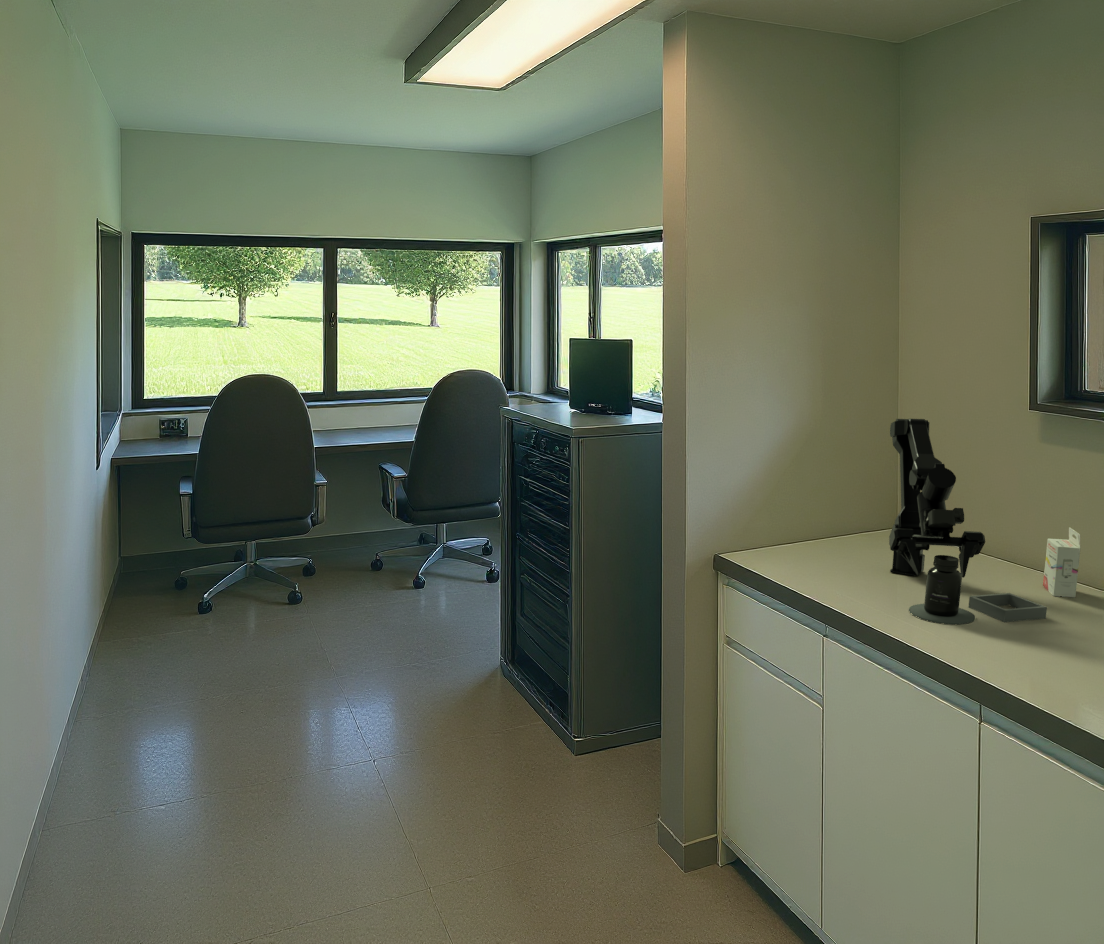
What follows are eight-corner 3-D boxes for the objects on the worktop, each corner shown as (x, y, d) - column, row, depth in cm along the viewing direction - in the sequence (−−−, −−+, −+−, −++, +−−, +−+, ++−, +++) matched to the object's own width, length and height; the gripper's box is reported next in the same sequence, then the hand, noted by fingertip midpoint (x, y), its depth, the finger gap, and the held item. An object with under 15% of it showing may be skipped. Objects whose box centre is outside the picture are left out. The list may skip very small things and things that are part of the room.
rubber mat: (901, 616, 199) (901, 614, 199) (917, 601, 210) (917, 600, 210) (967, 628, 192) (968, 626, 192) (980, 612, 203) (980, 611, 202)
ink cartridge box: (1041, 586, 224) (1047, 525, 222) (1064, 587, 223) (1070, 526, 221) (1052, 596, 216) (1059, 533, 213) (1076, 598, 215) (1083, 534, 212)
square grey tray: (968, 607, 206) (969, 596, 206) (1008, 603, 209) (1009, 592, 209) (1004, 622, 196) (1005, 610, 196) (1045, 618, 199) (1047, 607, 199)
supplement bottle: (932, 617, 197) (937, 561, 195) (918, 607, 204) (922, 553, 202) (964, 617, 198) (969, 561, 196) (949, 607, 204) (954, 553, 203)
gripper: (896, 491, 206) (903, 553, 197) (987, 495, 203) (998, 558, 195) (886, 519, 215) (892, 579, 206) (973, 523, 212) (983, 584, 204)
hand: (941, 575), depth 202 cm, fingers open, 9 cm apart
